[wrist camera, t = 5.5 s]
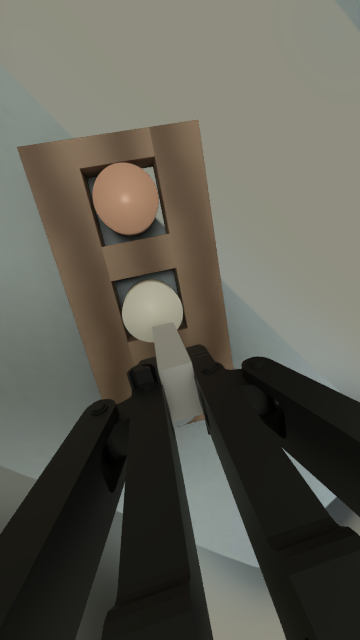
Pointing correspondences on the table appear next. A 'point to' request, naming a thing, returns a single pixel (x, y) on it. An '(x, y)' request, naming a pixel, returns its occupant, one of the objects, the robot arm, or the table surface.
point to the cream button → (150, 308)
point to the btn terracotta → (125, 198)
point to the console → (131, 243)
